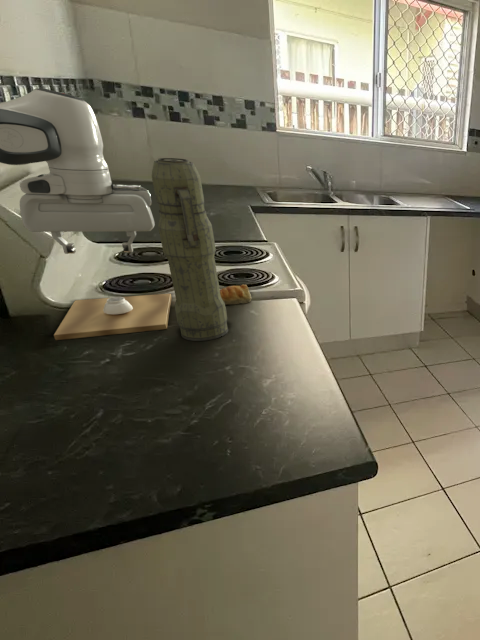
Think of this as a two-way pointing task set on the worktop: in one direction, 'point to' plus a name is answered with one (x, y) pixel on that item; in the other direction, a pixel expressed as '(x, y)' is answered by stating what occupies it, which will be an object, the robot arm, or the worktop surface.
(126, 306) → the white bowl
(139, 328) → the board
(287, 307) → the worktop surface
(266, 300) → the worktop surface
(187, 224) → the beige stone tall figure
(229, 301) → the pastry
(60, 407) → the worktop surface
